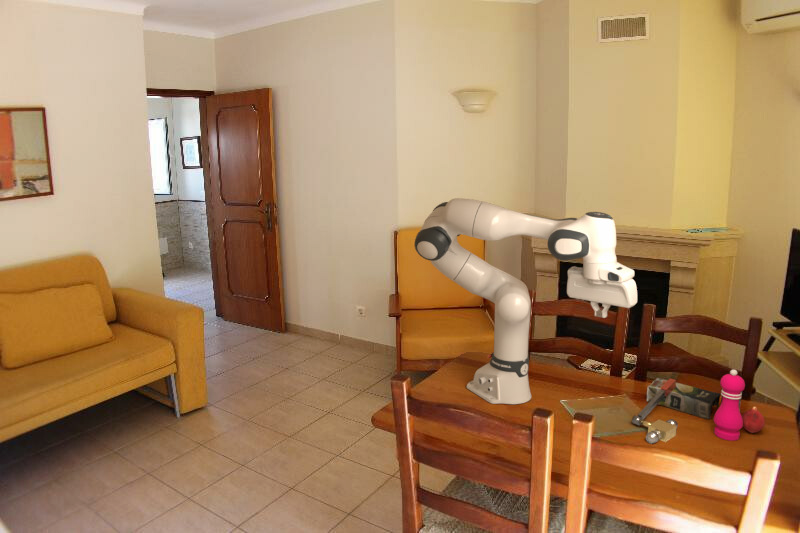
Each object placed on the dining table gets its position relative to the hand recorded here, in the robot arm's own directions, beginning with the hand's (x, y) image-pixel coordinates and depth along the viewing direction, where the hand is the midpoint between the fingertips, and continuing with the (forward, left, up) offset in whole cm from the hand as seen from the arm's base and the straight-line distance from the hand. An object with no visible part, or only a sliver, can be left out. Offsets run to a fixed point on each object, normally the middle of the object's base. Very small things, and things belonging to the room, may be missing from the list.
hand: (600, 316), depth 162 cm
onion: (+32, +31, -34) cm, 56 cm away
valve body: (+14, +10, -34) cm, 38 cm away
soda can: (+24, +36, -34) cm, 55 cm away
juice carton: (+10, +33, -34) cm, 49 cm away
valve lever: (+8, +9, -33) cm, 35 cm away
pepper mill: (+28, +24, -34) cm, 50 cm away
